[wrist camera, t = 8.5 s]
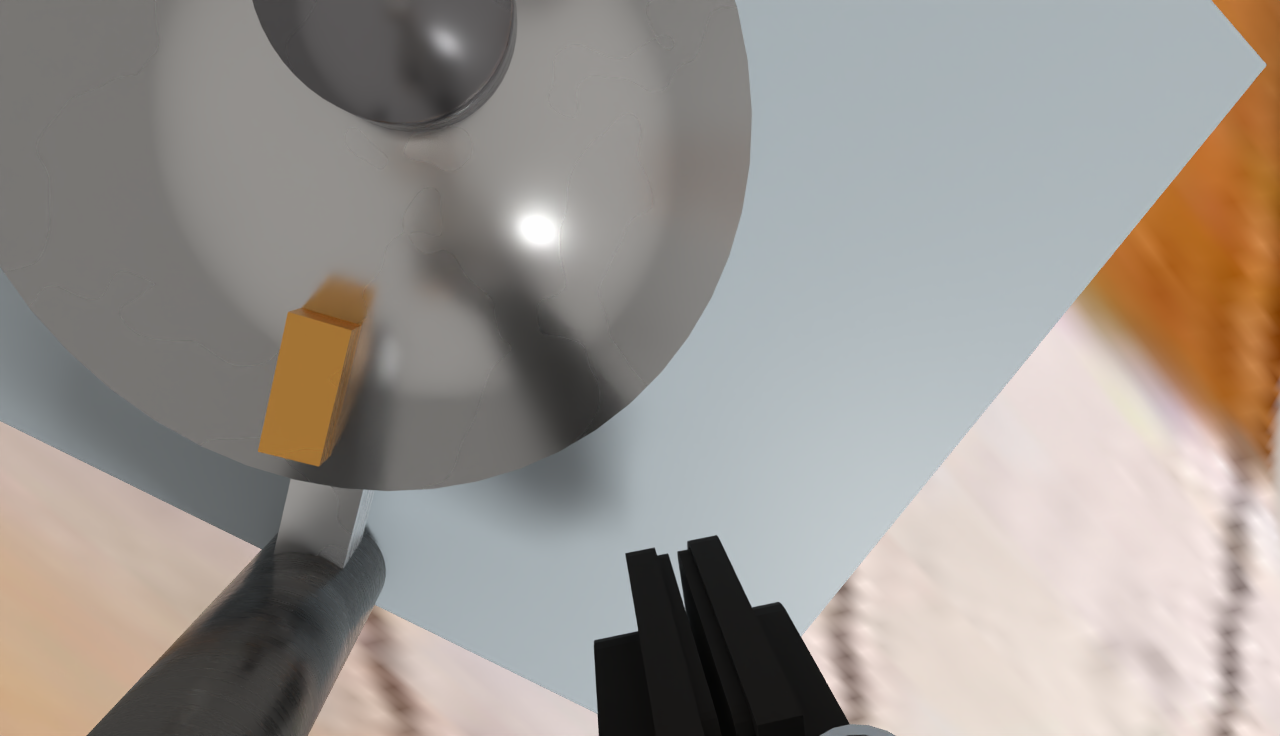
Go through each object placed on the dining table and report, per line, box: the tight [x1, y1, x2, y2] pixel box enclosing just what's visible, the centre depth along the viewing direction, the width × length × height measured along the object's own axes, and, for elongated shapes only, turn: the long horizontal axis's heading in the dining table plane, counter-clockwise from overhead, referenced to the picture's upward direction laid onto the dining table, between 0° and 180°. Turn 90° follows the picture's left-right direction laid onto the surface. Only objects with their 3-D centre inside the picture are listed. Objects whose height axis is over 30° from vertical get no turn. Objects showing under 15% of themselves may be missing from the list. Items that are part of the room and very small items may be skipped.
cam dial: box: [0, 0, 752, 736], centre depth 8 cm, size 15×10×5 cm
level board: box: [0, 0, 1266, 714], centre depth 10 cm, size 20×20×6 cm
